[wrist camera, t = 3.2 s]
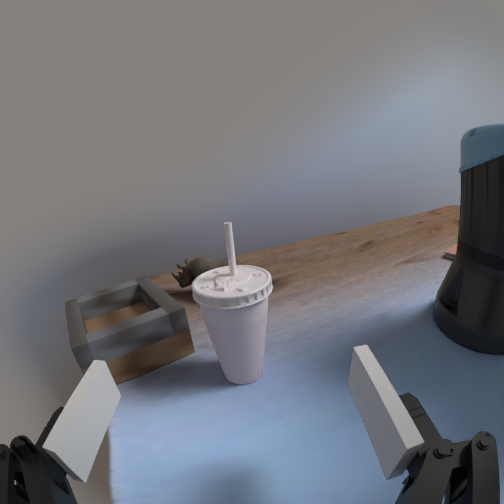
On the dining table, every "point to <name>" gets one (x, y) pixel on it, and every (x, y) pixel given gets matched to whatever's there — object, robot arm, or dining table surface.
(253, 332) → the smoothie
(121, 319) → the grey boxy open piece
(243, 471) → the dining table surface
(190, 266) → the rhino figurine
